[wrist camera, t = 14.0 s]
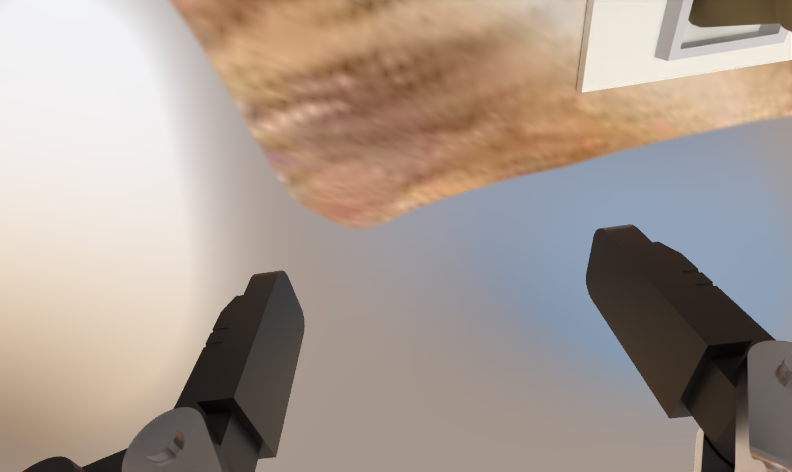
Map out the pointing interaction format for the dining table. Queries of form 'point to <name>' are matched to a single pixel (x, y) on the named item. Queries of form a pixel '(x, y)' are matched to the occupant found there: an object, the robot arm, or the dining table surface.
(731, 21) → the olive tall rounded piece
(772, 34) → the board
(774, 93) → the dining table surface
